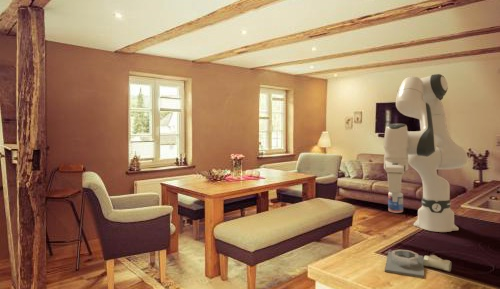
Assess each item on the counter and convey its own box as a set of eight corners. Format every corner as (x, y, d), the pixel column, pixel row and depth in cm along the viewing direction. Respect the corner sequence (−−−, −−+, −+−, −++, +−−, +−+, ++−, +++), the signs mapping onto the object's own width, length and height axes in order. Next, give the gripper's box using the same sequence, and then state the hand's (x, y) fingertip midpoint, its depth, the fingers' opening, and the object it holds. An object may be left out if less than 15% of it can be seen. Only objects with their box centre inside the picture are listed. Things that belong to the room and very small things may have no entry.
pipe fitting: (428, 262, 126) (423, 267, 121) (428, 252, 126) (423, 256, 121) (453, 268, 121) (448, 273, 116) (453, 257, 121) (449, 262, 116)
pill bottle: (385, 210, 137) (385, 186, 137) (394, 208, 140) (393, 185, 140) (397, 213, 133) (397, 188, 132) (406, 211, 135) (405, 186, 135)
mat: (388, 253, 134) (388, 251, 134) (423, 257, 129) (423, 255, 129) (384, 271, 118) (384, 269, 118) (424, 278, 112) (424, 275, 112)
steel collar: (392, 256, 129) (392, 248, 129) (418, 259, 125) (418, 251, 125) (390, 265, 121) (391, 256, 121) (418, 269, 117) (418, 260, 117)
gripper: (389, 161, 146) (388, 193, 147) (385, 168, 127) (385, 205, 129) (405, 161, 143) (404, 194, 144) (403, 169, 125) (403, 206, 126)
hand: (395, 199), depth 136 cm, fingers closed on pill bottle, 5 cm apart
